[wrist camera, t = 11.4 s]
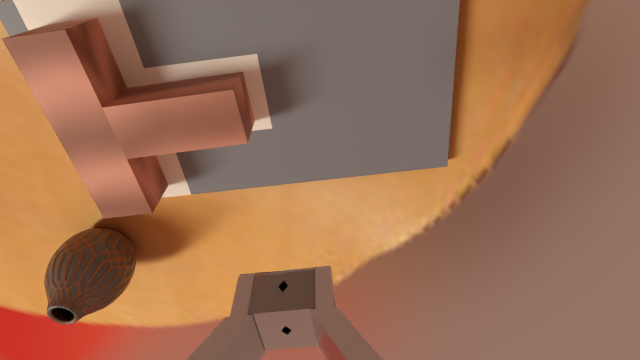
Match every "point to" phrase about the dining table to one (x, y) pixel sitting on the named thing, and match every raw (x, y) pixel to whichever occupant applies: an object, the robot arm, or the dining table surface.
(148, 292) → the dining table surface
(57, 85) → the t block
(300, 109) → the board
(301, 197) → the dining table surface
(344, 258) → the dining table surface
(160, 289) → the dining table surface
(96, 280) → the vase
